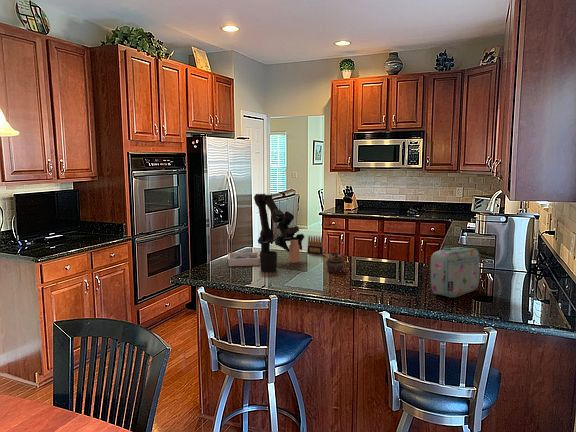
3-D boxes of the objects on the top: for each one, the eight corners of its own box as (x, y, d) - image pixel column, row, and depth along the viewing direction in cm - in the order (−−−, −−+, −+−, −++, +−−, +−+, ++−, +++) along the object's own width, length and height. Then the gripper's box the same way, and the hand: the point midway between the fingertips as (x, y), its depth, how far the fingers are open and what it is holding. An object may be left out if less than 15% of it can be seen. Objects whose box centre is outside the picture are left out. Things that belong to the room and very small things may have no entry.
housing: (228, 259, 267) (228, 253, 267) (258, 258, 269) (258, 252, 269) (228, 266, 249) (228, 259, 249) (259, 265, 252) (259, 258, 251)
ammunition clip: (323, 254, 283) (323, 235, 282) (322, 254, 282) (322, 236, 280) (308, 252, 288) (308, 234, 287) (307, 253, 287) (307, 235, 285)
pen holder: (276, 272, 235) (276, 254, 233) (259, 272, 235) (259, 254, 234) (277, 268, 244) (277, 251, 243) (260, 268, 244) (260, 250, 243)
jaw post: (288, 261, 262) (289, 240, 260) (295, 260, 264) (295, 239, 263) (293, 262, 258) (293, 241, 257) (299, 261, 261) (299, 240, 259)
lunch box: (447, 301, 185) (449, 252, 183) (426, 295, 193) (428, 248, 191) (481, 290, 201) (484, 245, 198) (461, 285, 209) (463, 241, 207)
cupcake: (346, 271, 236) (347, 253, 235) (331, 273, 233) (331, 255, 232) (338, 268, 245) (338, 250, 244) (323, 269, 242) (323, 251, 240)
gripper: (277, 223, 257) (287, 244, 249) (302, 220, 267) (313, 241, 259) (270, 234, 264) (280, 255, 256) (295, 231, 274) (305, 252, 267)
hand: (295, 250), depth 259 cm, fingers open, 9 cm apart
